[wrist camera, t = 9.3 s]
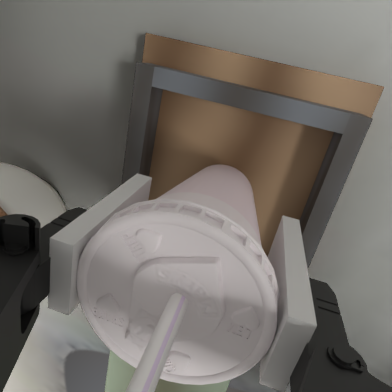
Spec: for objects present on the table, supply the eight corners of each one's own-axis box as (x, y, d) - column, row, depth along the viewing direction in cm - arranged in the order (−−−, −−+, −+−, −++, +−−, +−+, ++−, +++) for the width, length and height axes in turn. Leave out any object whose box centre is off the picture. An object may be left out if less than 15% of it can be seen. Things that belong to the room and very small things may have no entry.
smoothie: (303, 191, 17) (382, 537, 4) (228, 263, 20) (142, 607, 7) (211, 115, 17) (9, 249, 4) (147, 198, 19) (-95, 436, 7)
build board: (377, 85, 17) (474, 98, 9) (267, 345, 25) (264, 481, 17) (153, 35, 19) (56, 5, 11) (117, 293, 27) (46, 394, 18)
